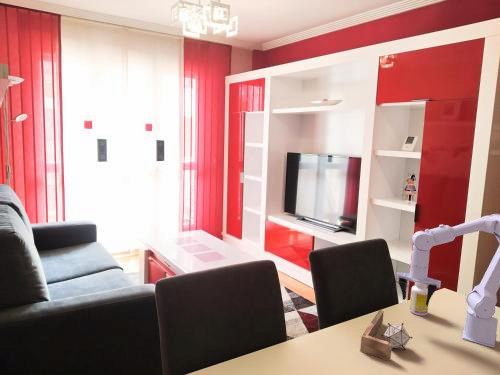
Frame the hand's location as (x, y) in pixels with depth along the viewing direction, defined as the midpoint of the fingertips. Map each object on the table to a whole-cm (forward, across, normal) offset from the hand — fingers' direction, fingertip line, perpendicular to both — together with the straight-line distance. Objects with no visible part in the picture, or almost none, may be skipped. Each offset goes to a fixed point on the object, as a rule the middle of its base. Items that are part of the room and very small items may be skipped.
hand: (415, 301), depth 135 cm
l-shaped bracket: (+10, -7, -15) cm, 19 cm away
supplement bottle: (+10, 0, +16) cm, 19 cm away
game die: (+10, -3, -18) cm, 21 cm away
